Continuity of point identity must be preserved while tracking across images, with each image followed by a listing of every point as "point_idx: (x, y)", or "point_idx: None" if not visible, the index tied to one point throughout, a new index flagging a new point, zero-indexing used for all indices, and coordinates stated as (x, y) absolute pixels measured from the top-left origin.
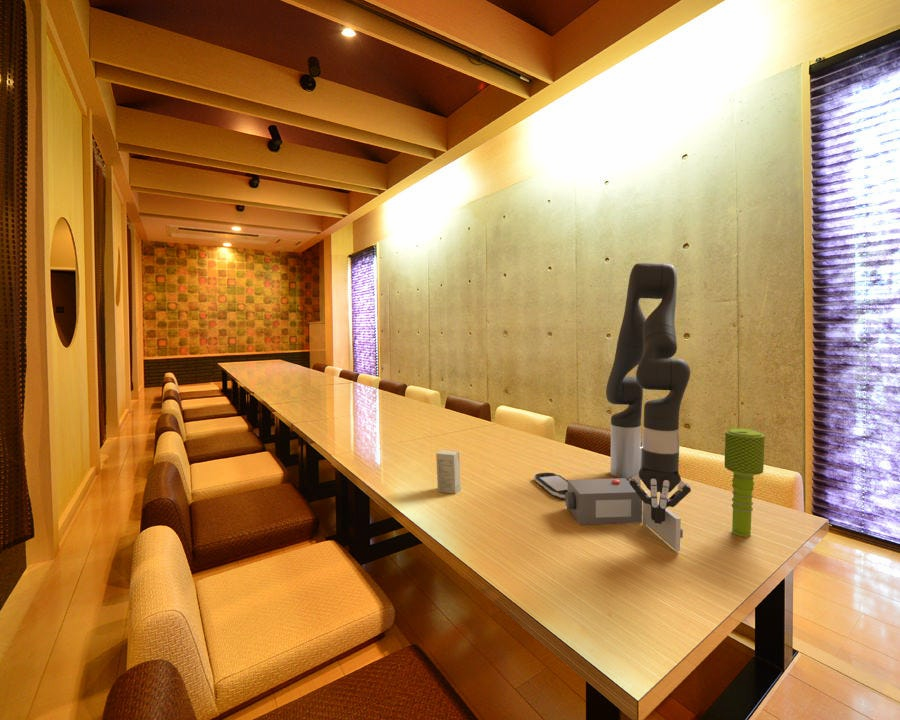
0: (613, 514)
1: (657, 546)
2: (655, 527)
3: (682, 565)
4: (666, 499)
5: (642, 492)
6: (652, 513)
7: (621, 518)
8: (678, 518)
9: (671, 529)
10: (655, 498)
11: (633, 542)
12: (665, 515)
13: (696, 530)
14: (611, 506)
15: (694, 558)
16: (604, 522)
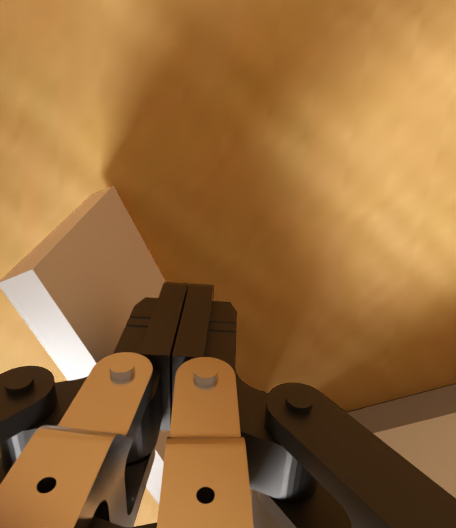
0: (407, 437)
1: (203, 231)
2: None
3: (86, 45)
4: (59, 430)
5: (364, 498)
6: (226, 333)
7: None
8: (14, 280)
9: (106, 268)
10: (191, 435)
11: (323, 240)
12: None
13: None
14: (440, 475)
15: (25, 154)
16: (439, 394)
